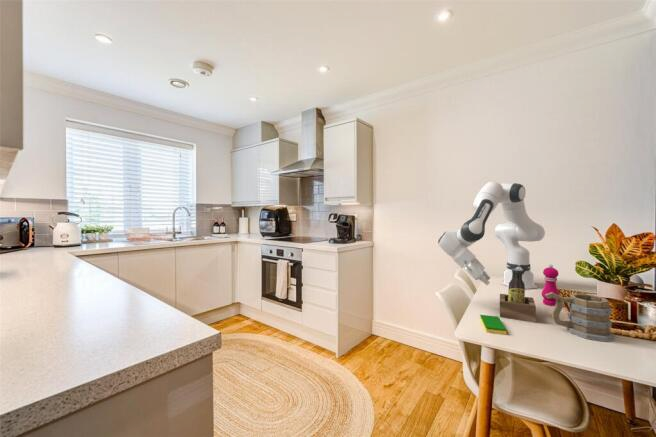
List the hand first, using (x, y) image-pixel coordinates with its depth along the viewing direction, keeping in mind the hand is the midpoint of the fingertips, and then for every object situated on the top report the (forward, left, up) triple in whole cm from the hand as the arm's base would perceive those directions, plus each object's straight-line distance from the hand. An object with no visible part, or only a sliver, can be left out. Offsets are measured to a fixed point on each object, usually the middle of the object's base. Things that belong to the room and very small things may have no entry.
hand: (488, 281), depth 130 cm
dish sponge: (+19, +2, -15) cm, 24 cm away
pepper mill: (-24, +26, -14) cm, 38 cm away
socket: (0, +11, -14) cm, 18 cm away
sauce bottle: (0, +11, -13) cm, 17 cm away
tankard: (+9, +30, -14) cm, 34 cm away
